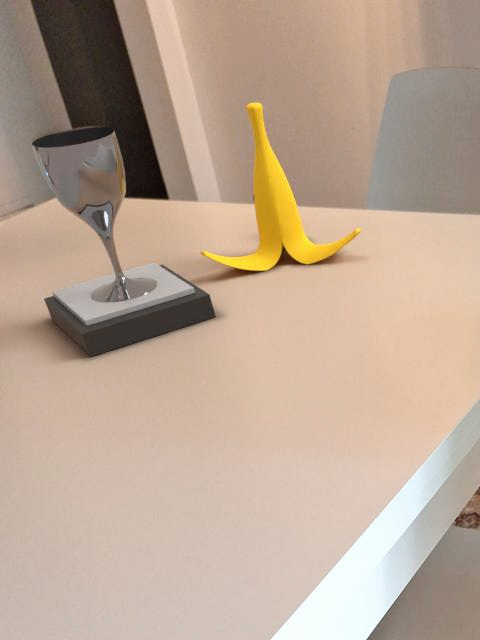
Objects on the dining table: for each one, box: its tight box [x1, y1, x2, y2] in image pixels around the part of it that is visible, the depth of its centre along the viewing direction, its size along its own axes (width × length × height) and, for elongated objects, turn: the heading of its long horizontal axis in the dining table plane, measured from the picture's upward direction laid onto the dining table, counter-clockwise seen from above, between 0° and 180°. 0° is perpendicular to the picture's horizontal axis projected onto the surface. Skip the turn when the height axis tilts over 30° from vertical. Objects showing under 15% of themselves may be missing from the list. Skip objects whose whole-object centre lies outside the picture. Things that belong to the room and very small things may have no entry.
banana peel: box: [200, 102, 362, 272], centre depth 108 cm, size 17×19×17 cm
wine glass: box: [31, 126, 157, 302], centre depth 95 cm, size 8×8×15 cm
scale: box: [43, 262, 216, 358], centre depth 101 cm, size 14×14×3 cm
